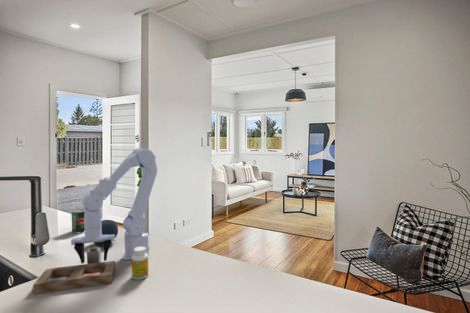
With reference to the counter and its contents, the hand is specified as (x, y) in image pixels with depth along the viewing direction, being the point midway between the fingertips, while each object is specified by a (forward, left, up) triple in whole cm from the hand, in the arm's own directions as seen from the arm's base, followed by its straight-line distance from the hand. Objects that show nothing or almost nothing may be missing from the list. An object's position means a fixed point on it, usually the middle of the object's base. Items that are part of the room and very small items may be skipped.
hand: (94, 261), depth 105 cm
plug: (0, 0, -2) cm, 2 cm away
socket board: (+3, +11, -2) cm, 12 cm away
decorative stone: (0, -23, -2) cm, 23 cm away
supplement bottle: (-17, +14, -2) cm, 22 cm away
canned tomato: (+15, -47, -2) cm, 49 cm away
